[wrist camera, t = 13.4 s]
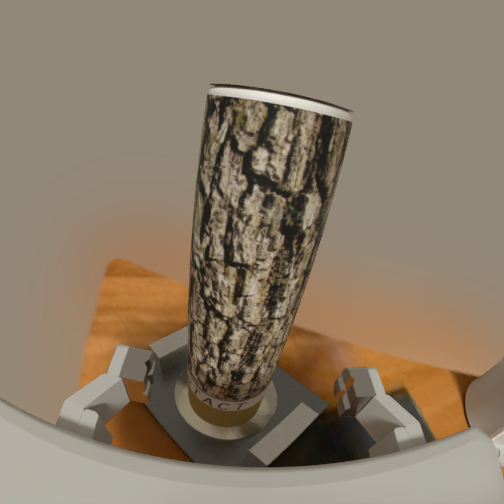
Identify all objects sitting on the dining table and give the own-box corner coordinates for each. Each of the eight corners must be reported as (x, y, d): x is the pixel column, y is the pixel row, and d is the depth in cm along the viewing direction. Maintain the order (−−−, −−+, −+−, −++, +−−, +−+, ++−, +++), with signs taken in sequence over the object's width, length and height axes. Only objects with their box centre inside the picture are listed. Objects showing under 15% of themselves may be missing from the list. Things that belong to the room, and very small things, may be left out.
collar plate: (325, 408, 26) (338, 392, 24) (230, 497, 17) (234, 492, 15) (223, 326, 35) (226, 306, 33) (124, 378, 25) (118, 358, 23)
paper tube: (216, 360, 28) (257, 93, 16) (271, 394, 26) (365, 117, 13) (173, 401, 23) (177, 81, 10) (233, 443, 20) (331, 101, 8)
